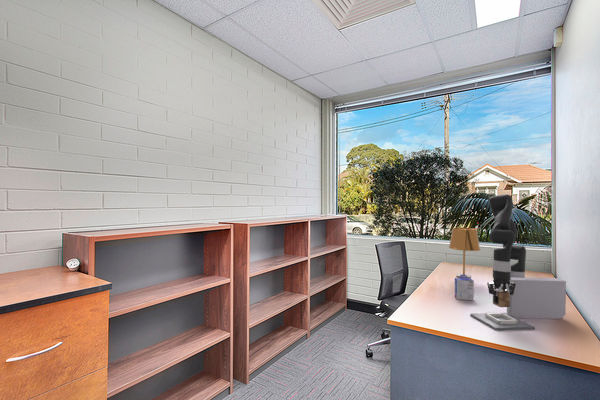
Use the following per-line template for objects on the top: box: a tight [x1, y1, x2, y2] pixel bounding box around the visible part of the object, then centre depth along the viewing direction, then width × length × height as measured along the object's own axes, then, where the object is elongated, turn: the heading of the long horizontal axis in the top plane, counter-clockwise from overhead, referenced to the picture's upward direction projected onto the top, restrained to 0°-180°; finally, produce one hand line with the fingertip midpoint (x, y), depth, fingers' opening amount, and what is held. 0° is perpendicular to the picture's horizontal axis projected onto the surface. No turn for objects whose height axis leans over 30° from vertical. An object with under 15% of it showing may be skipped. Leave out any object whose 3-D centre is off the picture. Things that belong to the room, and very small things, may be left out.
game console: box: [506, 277, 567, 320], centre depth 159 cm, size 6×27×20 cm, turn 88°
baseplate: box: [469, 312, 536, 331], centre depth 150 cm, size 20×18×3 cm
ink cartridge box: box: [454, 275, 475, 301], centre depth 187 cm, size 10×6×14 cm, turn 78°
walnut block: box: [492, 290, 510, 308], centre depth 150 cm, size 5×5×7 cm
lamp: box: [448, 227, 481, 279], centre depth 224 cm, size 21×21×41 cm
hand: (501, 303), depth 150 cm, fingers closed on walnut block, 5 cm apart
